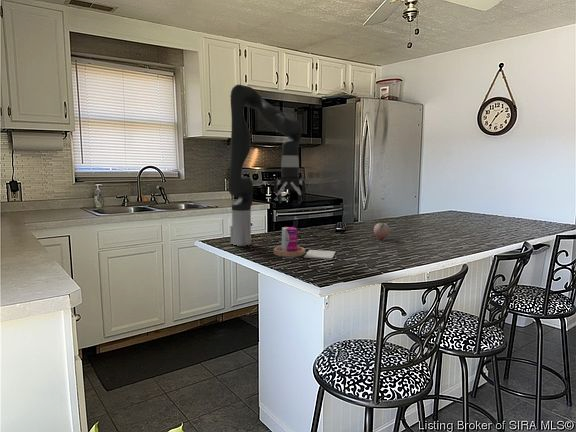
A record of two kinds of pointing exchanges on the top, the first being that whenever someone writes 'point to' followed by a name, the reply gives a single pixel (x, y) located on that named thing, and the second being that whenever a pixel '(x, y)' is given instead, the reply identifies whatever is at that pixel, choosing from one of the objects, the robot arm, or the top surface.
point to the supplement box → (289, 239)
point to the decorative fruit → (381, 230)
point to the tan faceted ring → (279, 252)
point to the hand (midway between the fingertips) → (289, 203)
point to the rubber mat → (320, 254)
